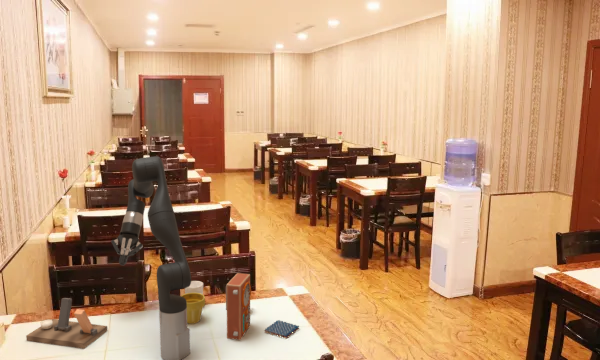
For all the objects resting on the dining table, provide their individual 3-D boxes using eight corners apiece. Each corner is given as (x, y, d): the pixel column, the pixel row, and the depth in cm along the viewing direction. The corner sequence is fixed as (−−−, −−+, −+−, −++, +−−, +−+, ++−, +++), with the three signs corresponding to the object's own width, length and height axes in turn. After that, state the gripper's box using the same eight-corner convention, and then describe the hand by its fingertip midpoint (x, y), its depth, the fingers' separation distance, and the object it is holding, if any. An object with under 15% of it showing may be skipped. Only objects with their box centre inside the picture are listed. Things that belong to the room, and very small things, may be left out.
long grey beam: (67, 329, 186) (72, 298, 188) (64, 330, 184) (68, 299, 186) (60, 328, 187) (65, 297, 188) (57, 329, 185) (61, 298, 186)
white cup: (185, 310, 208) (184, 288, 207) (184, 303, 216) (184, 281, 214) (204, 309, 211) (203, 286, 209) (202, 301, 218) (202, 280, 216)
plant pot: (207, 323, 197) (207, 300, 195) (181, 327, 193) (180, 304, 192) (202, 313, 207) (202, 290, 205) (177, 316, 203) (176, 294, 201)
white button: (55, 325, 189) (54, 320, 188) (47, 329, 185) (47, 324, 184) (46, 323, 190) (45, 319, 189) (38, 328, 186) (38, 323, 185)
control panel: (253, 324, 197) (241, 342, 183) (236, 322, 199) (223, 340, 184) (253, 273, 194) (240, 287, 179) (236, 271, 195) (222, 285, 181)
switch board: (107, 330, 190) (107, 322, 189) (84, 348, 176) (83, 339, 176) (53, 323, 195) (52, 315, 194) (26, 340, 181) (25, 331, 181)
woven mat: (277, 323, 200) (277, 318, 199) (300, 329, 194) (300, 325, 194) (262, 333, 191) (262, 328, 190) (286, 340, 185) (286, 335, 185)
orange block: (94, 330, 184) (84, 309, 178) (91, 334, 183) (81, 314, 176) (87, 329, 185) (77, 309, 178) (84, 333, 183) (73, 313, 177)
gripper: (114, 219, 201) (103, 260, 194) (147, 223, 203) (137, 264, 195) (117, 225, 208) (106, 265, 200) (149, 229, 209) (140, 269, 202)
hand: (122, 264), depth 198 cm, fingers closed
